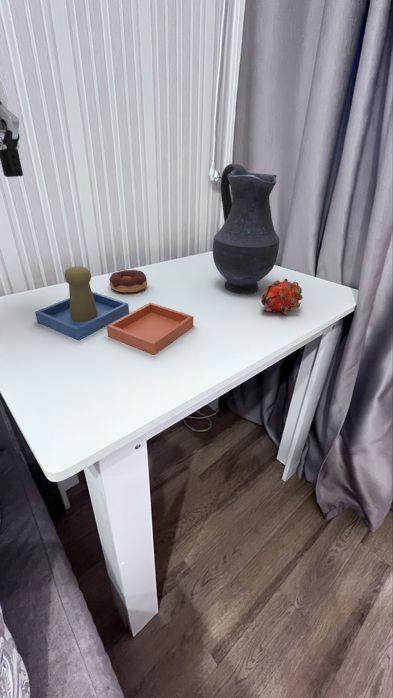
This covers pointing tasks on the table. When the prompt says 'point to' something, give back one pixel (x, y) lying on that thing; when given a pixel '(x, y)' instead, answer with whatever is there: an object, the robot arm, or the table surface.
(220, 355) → the table surface
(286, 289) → the dragon fruit
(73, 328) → the blue tray
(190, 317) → the terracotta tray
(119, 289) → the donut
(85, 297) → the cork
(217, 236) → the pitcher
